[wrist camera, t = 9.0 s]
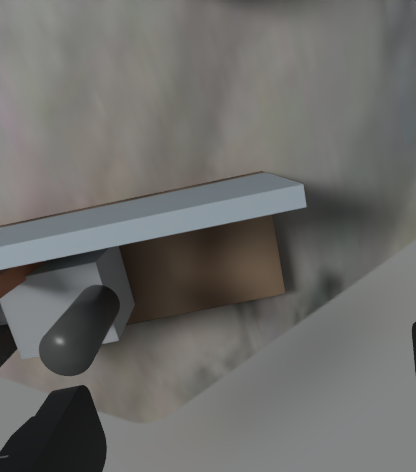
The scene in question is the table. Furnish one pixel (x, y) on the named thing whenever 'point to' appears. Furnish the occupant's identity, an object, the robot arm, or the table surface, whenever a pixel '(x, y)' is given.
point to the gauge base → (200, 266)
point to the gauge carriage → (66, 307)
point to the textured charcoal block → (6, 343)
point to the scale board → (148, 218)
